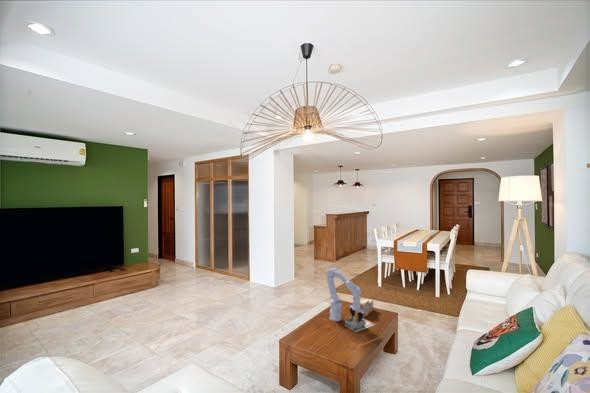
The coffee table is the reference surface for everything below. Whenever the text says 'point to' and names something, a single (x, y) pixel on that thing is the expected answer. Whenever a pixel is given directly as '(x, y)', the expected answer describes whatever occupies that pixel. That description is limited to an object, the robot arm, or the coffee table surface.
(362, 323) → the grey storage bin
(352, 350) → the coffee table surface
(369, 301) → the multicoloured piece
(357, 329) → the track board
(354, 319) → the maple block
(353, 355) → the coffee table surface
